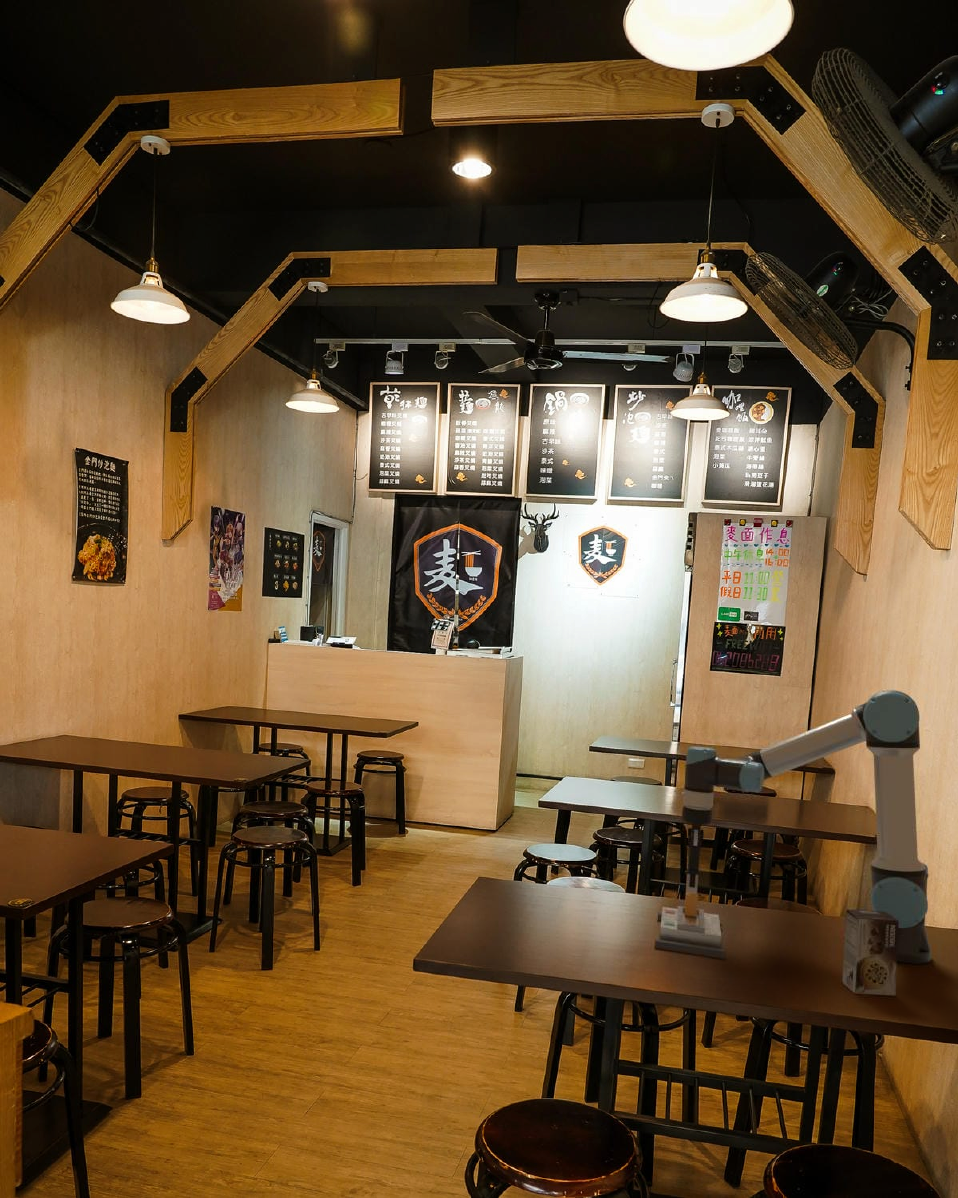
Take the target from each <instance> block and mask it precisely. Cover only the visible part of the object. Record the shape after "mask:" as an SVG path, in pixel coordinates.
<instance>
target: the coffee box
mask: <svg viewBox="0 0 958 1198" xmlns="http://www.w3.org/2000/svg"><path fill="white" fill-rule="evenodd" d="M845 913H846V914H845V929H844V931H845V932H844V933H845V934H844V947H843V948H844V949H843V964H842V965H843V967H842V968H843V969H842V980H841V981H842V984H843V985H844V986H846V987H847V989H849V990H850V991H852V992H853V994H859V995H860V994H861V995H862V994H863V995H875V996H876V995H880V996H896V995H897V994H896V993H897V991H896V990H897V972H898V971H897V969H898V968H897V966H898V961H897V950H898V928H899V920H897V919H895V918H894V917H893V916H891V915H890V914H888V913H887V912H881V911H873V910H865V909H862V910H861V909H849V908H848V909H846V912H845Z"/></svg>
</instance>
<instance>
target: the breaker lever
mask: <svg viewBox="0 0 958 1198" xmlns="http://www.w3.org/2000/svg"><path fill="white" fill-rule="evenodd" d="M684 900H685V901H684V907H685V912H684V915H687V916H694V917H697V909H698V906H699V905H698V903H699V894H698V893H697V894H690V893H686V892H685V899H684Z"/></svg>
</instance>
